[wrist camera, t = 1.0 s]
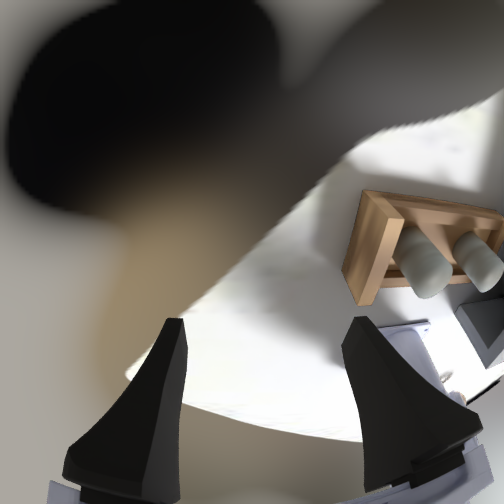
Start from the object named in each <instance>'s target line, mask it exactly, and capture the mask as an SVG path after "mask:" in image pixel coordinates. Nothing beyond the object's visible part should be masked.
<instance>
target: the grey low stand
mask: <svg viewBox="0 0 504 504" xmlns="http://www.w3.org/2000/svg"><path fill="white" fill-rule="evenodd" d="M454 315H455V316H456V318H457V320H458V321H459V323H460V325H461V326H462V328H463V329H464V331H465V333H466V334H467V336H468V338H469V340H470V341H471V343H472V345H473V347H474V348H475V350H476V352H477V354H478V356H479V357H480V359H481V361H482V363H483V365H484V367H485V369H488V368H491V367H493V366H495V365H497V364H500V363H502V362H504V298H499V299H493V300H488V301H482V302H475V303H469V304H462V305H460V306H459V307H458V309H457V310H456V312H455V314H454Z"/></svg>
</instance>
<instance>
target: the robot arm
mask: <svg viewBox="0 0 504 504" xmlns="http://www.w3.org/2000/svg"><path fill="white" fill-rule="evenodd" d="M430 327H431V323H430V322H425V323H418V324H410V325H403V326H395V327H386V328H377V327H376V326H375V325H374V324H373V323H372V321H371V320H370V319H369V318H368V317H367V316H360V317H354V319H353V321H352V324H351V326H350V328H349V330H348V332H347V335H346V337H345V339H344V341H343V343H342V345H341V346H342V352H343V358H344V364H345V368H346V371H347V374H348V378H349V381H350V384H351V388H352V391H353V394H354V397H355V401H356V404H357V408H358V412H359V417H360V423H361V430H362V438H363V449H364V488H365V492H366V493H367V492H371V491H374V490H377V489H380V488H383V487H386V486H389V485H390V487H391V488H390V489H387V490H384V491H381V492H377V493H374V494H371V495H368V496H364V497H361V498H357V499H353V500H349V501H345V502H341V503H337V504H470V502H469V500H470V499H472V498H473V497H474V496H476V495H477V494H478V493H480V492H481V491H482V490H483V489H485V488H486V487H488V486H489V485H490V484H492V483H493V481H494V479H493V475H492V472H491V468H490V465H489V462H488V459H487V456H486V452H485V449H484V446H483V445H482V444H481V445H480V446H479V443H478V439H477V437H476V435H477V434H478V433H480V432H481V431H482V430H483V426H482V424H481V421H480V419H479V416H478V414H477V413H475V412H473V411H471V410H469V409H467V407H466V405H465V403H464V401H463V399H462V396H461V395H460V393H459V392H455V391H452V392H450V393H449V394H448V393H447V391H446V390H445V388H444V386H443V383H442V381H441V379H440V377H439V374H438V372H437V370H436V368H435V366H434V364H433V362H432V360H431V357H430V355H429V353H428V351H427V349H426V347H425V345H424V343H423V341H422V339H423V337H424V336H425V334H426V333H427V331H428V330H429V328H430ZM187 355H188V346H187V340H186V334H185V328H184V322H183V318H167V319H166V321H165V323H164V325H163V328H162V330H161V332H160V334H159V336H158V338H157V340H156V342H155V343H154V345H153V347H152V349H151V351H150V352H149V354H148V356H147V358H146V359H145V361H144V363H143V364H142V366H141V367H140V369H139V370H138V372H137V374H136V375H135V377H134V378H133V380H132V381H131V382H130V384H129V385H128V387H127V388H126V390H125V391H124V392H123V393H122V395H121V396H120V397H119V398H118V400H117V401H116V402H115V403H114V404H113V406H112V407H111V408H110V409H109V410H108V411H107V413H106V414H105V415H104V416H103V417H102V418H101V419H100V420H99V421H98V422H97V423H96V424H95V425H94V426H93V427H92V428H91V429H90V430H89V431H88V432H87V433H85V434H84V435H83V436H82V437H81V438H79V439H78V440H77V441H76V442H75V443H74V444H72V445H71V446H70V447H69V449H68V451H67V454H66V457H65V461H64V467H63V473H62V476H63V477H64V479H66V480H68V481H71V482H73V483H76V484H78V485H80V486H81V491H79V490H76V489H74V488H71V487H68V486H65V485H62V484H60V483H57V482H55V481H52V480H50V482H49V490H48V497H47V504H173V503H176V502H177V501H178V500H180V486H179V461H178V460H179V458H178V457H179V450H178V449H179V447H178V444H179V443H178V442H179V418H180V411H181V404H182V397H183V391H184V384H185V378H186V372H187Z"/></svg>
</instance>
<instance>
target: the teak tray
mask: <svg viewBox="0 0 504 504" xmlns="http://www.w3.org/2000/svg"><path fill="white" fill-rule="evenodd" d="M503 240H504V217H503V216H501V215H500V214H499V213H498V212H497V211H495V210H490V209H485V208H480V207H475V206H470V205H464V204H459V203H453V202H448V201H442V200H435V199H429V198H422V197H415V196H408V195H401V194H393V193H385V192H377V191H368V190H363V192H362V196H361V200H360V205H359V209H358V213H357V217H356V221H355V224H354V228H353V232H352V236H351V239H350V243H349V247H348V250H347V254H346V257H345V260H344V264H343V267H342V270H341V271H342V273H343V275H344V277H345V280H346V282H347V284H348V286H349V288H350V291H351V293H352V295H353V297H354V300H355V302H356V304H357V306H367V305H372V304H373V301H374V299H375V297H376V294H377V292H378V290H379V288H392V287H412V289H413V290H414V292H415V294H416V295H417V296H418V297H419V298H422V299H427V298H430V297H433V296H435V295H437V294H438V293H439V292H441V291H442V290H443V289H444V288H445V287H446V285H447V284H459V283H472V282H473V283H474V285H475V286H476V287H477V288H478V290H479V291H480V292H486V291H488V290H490V289H491V288H492V287H493V286H494V285H495V284H496V283H497V282H498V281H499V279H500V278H501V276H502V274H503V271H504V263H503V262H502V260H501V259H500V258H499V257H498V256H497V253H498V251H499V249H500V247H501V245H502V243H503Z"/></svg>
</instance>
